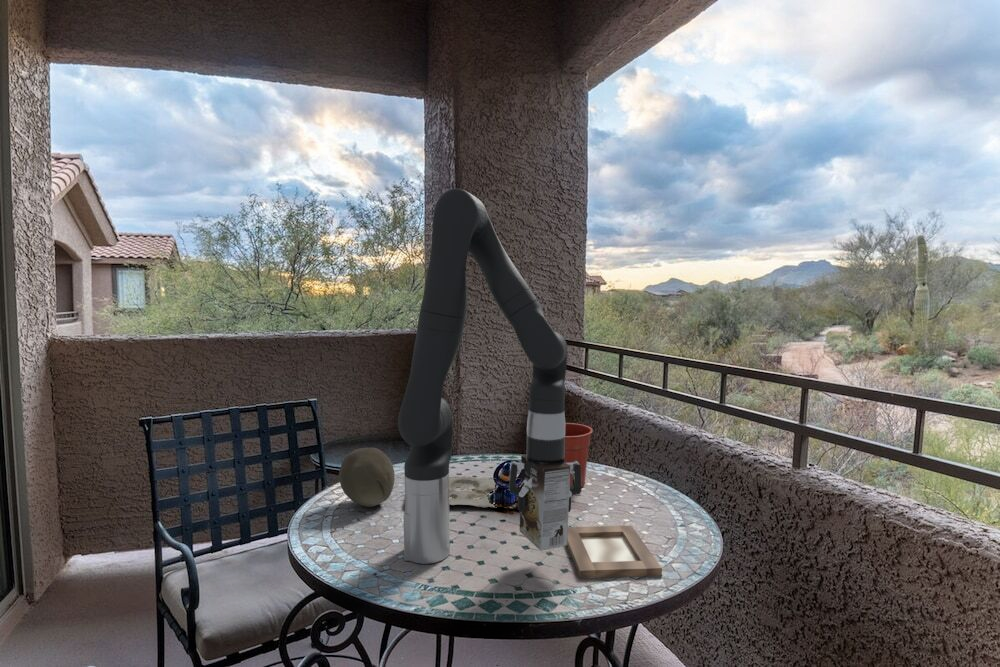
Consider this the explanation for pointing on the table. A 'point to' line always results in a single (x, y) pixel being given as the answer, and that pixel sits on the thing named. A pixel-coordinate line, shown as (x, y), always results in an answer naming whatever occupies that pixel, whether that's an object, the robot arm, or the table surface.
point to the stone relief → (466, 497)
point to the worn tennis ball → (367, 476)
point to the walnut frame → (610, 552)
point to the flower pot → (577, 447)
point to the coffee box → (546, 504)
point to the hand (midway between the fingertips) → (544, 513)
